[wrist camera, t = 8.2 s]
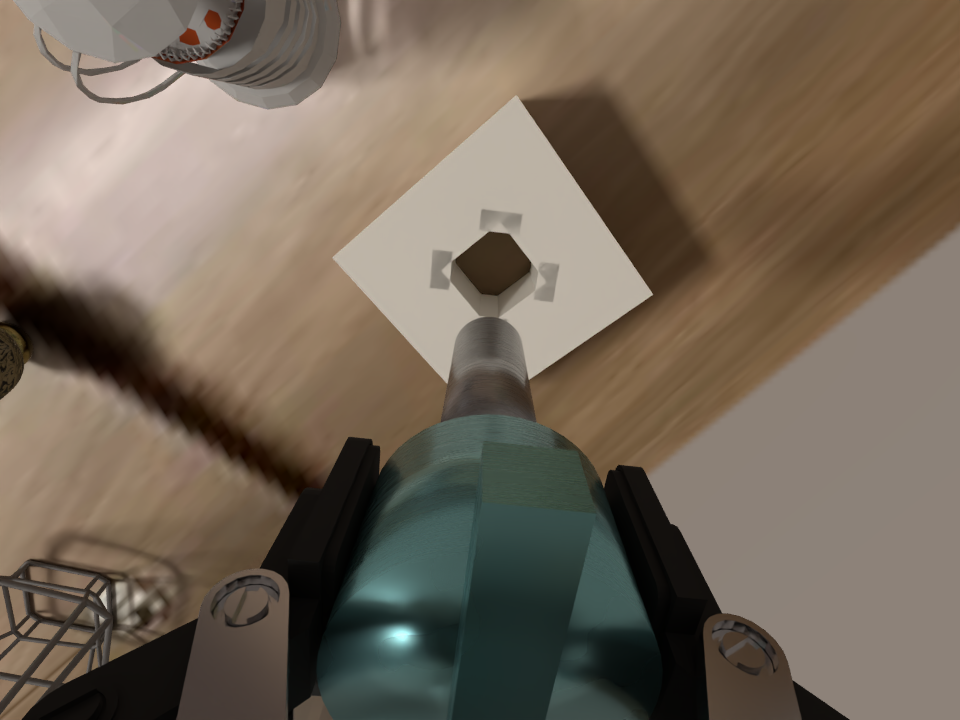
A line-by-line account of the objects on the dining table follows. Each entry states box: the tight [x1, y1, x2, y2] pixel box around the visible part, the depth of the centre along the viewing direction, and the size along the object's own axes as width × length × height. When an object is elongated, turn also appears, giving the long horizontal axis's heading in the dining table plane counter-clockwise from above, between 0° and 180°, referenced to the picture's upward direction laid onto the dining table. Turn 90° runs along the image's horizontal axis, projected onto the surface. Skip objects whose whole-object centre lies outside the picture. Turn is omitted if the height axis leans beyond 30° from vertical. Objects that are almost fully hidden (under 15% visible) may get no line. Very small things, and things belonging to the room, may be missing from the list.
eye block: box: [332, 95, 653, 384], centre depth 33 cm, size 14×14×5 cm
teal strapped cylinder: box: [316, 317, 663, 720], centre depth 14 cm, size 9×6×16 cm, turn 174°
